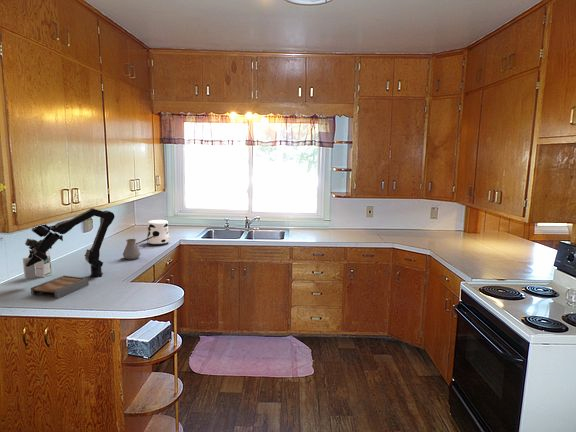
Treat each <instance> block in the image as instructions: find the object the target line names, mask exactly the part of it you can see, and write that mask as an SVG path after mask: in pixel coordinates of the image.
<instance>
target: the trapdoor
mask: <svg viewBox="0 0 576 432" xmlns="http://www.w3.org/2000/svg"><path fill="white" fill-rule="evenodd" d="M80 280H82V279H75V278H66V277H62V278H60V279H57V280H54V281H52V282H49V283H47V284H44V285H41V286H39V287H36V288H34V290H36V291H44V292H45V293H51V294H55V293H54V291H55V290H58V289H60V288H63V287H65V286H68V285H70V284H72V283H75V282H77V281H80ZM44 292H43V293H44Z"/></svg>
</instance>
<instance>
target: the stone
mask: <svg viewBox="0 0 576 432" xmlns="http://www.w3.org/2000/svg"><path fill="white" fill-rule="evenodd" d="M31 258H32V257H29V258H28V257H24V258H22V265H23V274H24V275H23V276H24V278H25V279H31V278H36V277H37V276H36V271H35V264H33V265H31V266H29V267H27V266H26V265H27V263H28V262H29V260H30V259H31Z"/></svg>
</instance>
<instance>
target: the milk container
mask: <svg viewBox="0 0 576 432" xmlns="http://www.w3.org/2000/svg"><path fill="white" fill-rule="evenodd" d="M152 236H154V237H155V238H154V237H152ZM150 237H152V238H150ZM147 238H150V239H149V240H146V241H147V243H148V244H149V245H154V246H159V245H166V244H168V243H169V242H170V239H171V237H170V234H169V221H168V220H165V219H151V220H149V221H147V236H146V239H147Z"/></svg>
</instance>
